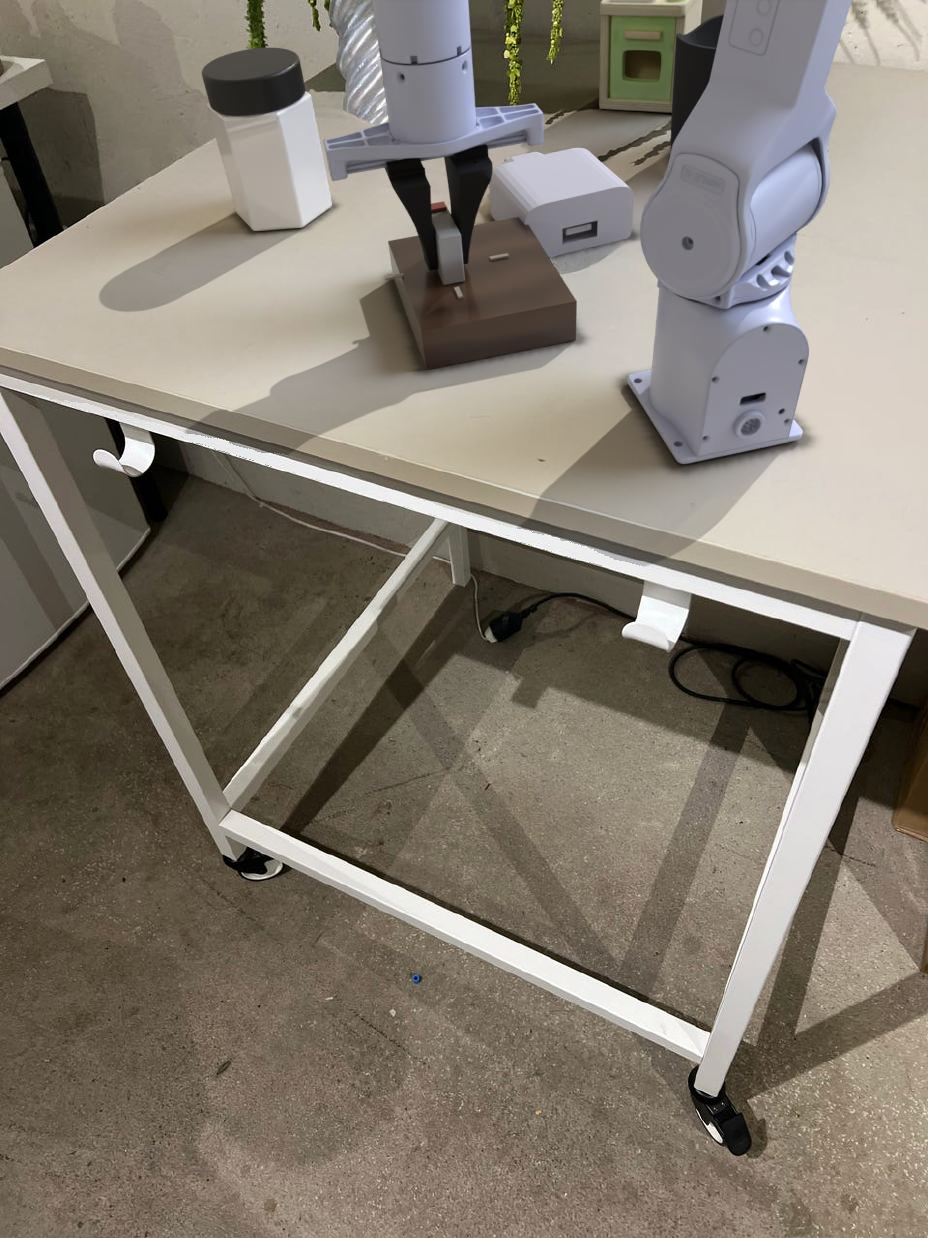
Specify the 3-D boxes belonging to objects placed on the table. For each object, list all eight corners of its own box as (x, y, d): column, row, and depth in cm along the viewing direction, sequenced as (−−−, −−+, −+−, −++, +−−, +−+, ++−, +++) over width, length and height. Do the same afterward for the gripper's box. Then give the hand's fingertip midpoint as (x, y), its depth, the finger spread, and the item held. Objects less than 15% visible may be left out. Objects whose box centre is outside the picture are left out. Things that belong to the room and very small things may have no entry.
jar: (337, 187, 82) (310, 41, 73) (327, 227, 77) (297, 75, 68) (245, 195, 83) (206, 51, 74) (229, 234, 78) (185, 85, 69)
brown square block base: (576, 340, 62) (577, 298, 60) (409, 373, 61) (403, 332, 59) (524, 252, 71) (523, 213, 69) (378, 279, 70) (372, 241, 68)
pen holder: (657, 141, 83) (666, 19, 76) (755, 131, 83) (775, 7, 75) (676, 182, 77) (689, 54, 70) (782, 172, 77) (807, 41, 69)
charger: (562, 174, 81) (631, 241, 72) (469, 195, 80) (526, 267, 70) (562, 119, 78) (635, 182, 68) (465, 140, 76) (524, 208, 67)
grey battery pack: (465, 281, 63) (460, 230, 60) (443, 285, 62) (438, 234, 60) (450, 249, 66) (445, 199, 63) (429, 253, 66) (424, 203, 63)
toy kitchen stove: (594, 111, 90) (599, -45, 80) (616, 85, 94) (622, -66, 84) (676, 117, 87) (691, -44, 77) (694, 90, 91) (711, -66, 81)
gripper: (521, 13, 57) (527, 220, 67) (303, 49, 56) (342, 254, 66) (552, 44, 52) (553, 261, 62) (315, 84, 51) (355, 299, 61)
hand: (446, 261), depth 64 cm, fingers closed on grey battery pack, 2 cm apart
